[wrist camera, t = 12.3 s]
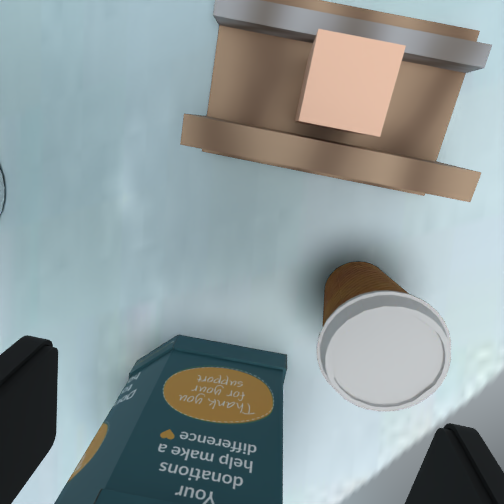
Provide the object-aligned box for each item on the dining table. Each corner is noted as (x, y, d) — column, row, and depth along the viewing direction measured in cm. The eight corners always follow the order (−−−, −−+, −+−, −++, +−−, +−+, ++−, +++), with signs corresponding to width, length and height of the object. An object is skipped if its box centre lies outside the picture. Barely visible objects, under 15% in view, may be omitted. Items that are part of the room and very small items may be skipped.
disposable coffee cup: (331, 230, 37) (353, 279, 25) (423, 266, 37) (485, 329, 26) (293, 313, 40) (297, 390, 28) (378, 346, 40) (416, 434, 29)
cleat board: (204, 150, 35) (178, 159, 27) (227, -14, 31) (205, -66, 22) (420, 193, 35) (464, 216, 26) (473, 33, 31) (546, -1, 22)
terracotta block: (307, 57, 31) (318, 28, 22) (368, 69, 31) (405, 45, 22) (294, 121, 33) (298, 120, 23) (352, 133, 33) (380, 136, 23)
